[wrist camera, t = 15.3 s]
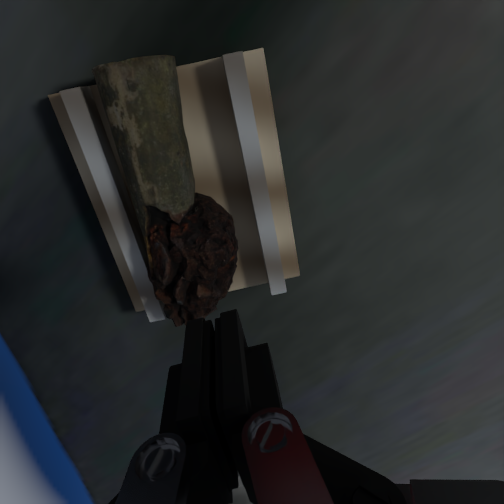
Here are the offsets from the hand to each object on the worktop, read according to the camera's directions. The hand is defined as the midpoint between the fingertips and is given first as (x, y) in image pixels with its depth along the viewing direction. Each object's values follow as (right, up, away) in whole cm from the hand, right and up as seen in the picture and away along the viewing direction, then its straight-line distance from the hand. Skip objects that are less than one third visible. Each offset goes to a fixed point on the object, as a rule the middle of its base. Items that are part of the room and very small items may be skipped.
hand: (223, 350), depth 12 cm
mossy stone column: (-4, +7, +15) cm, 17 cm away
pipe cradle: (-4, +8, +16) cm, 18 cm away
